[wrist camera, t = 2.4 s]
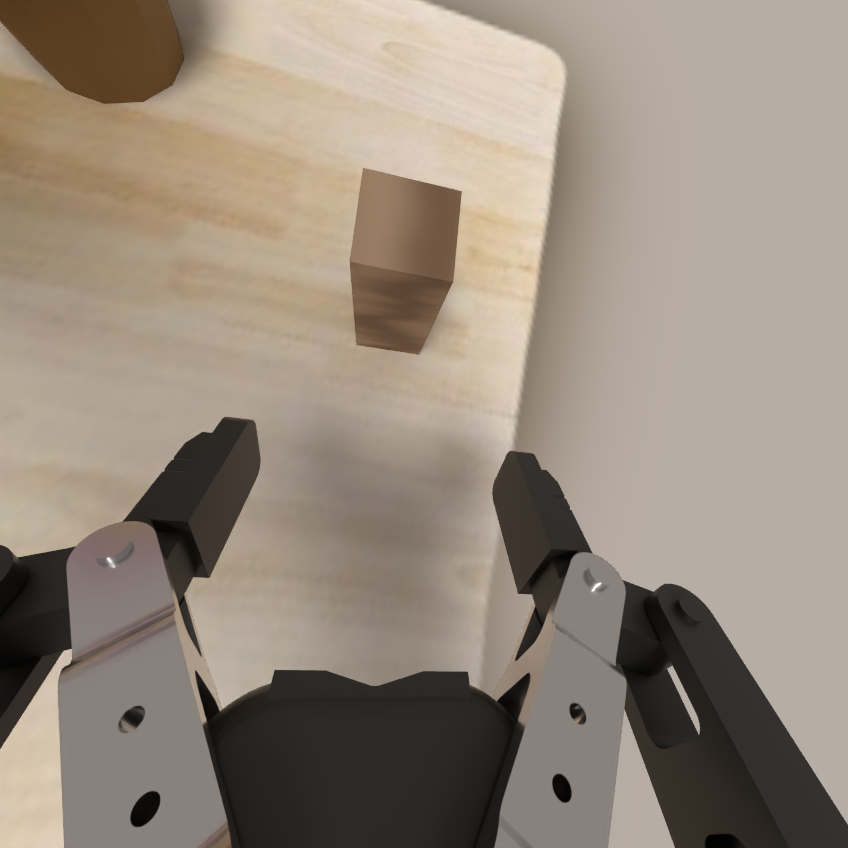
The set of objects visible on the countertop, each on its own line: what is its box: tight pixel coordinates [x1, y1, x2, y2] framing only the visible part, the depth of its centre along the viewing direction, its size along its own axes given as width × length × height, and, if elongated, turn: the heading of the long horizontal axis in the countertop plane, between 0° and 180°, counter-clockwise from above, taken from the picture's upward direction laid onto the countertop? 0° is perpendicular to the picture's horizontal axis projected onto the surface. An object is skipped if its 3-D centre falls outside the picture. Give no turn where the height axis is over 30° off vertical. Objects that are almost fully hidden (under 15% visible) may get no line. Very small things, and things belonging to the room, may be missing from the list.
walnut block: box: [350, 168, 462, 354], centre depth 22 cm, size 5×5×11 cm
